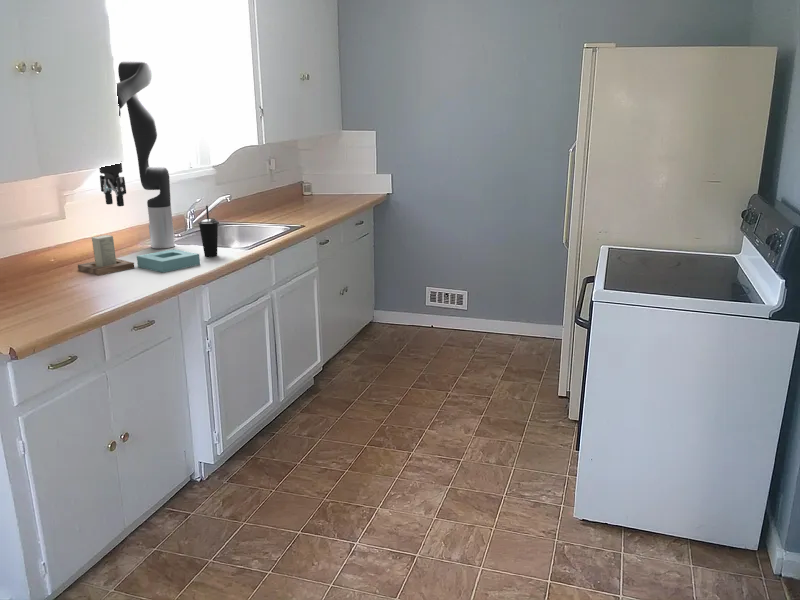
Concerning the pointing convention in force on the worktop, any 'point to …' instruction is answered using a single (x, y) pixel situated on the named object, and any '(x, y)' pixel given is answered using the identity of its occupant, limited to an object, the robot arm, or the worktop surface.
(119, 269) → the frame
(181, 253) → the socket block
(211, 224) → the drinking cup
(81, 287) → the worktop surface
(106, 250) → the skincare box
